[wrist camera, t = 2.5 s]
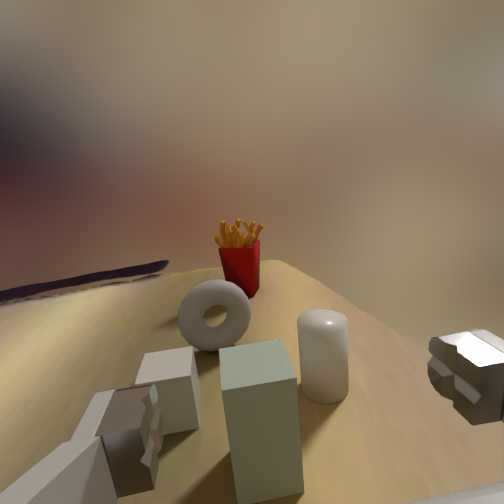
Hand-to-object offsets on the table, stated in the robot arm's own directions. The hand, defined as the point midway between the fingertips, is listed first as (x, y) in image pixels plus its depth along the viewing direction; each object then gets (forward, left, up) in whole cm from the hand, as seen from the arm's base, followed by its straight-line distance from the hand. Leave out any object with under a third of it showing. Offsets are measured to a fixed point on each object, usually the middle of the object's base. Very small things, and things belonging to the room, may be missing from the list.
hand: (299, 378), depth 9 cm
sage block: (0, +12, -18) cm, 22 cm away
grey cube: (-8, +20, -18) cm, 28 cm away
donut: (-3, +31, -18) cm, 36 cm away
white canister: (+8, +20, -18) cm, 28 cm away
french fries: (+3, +49, -18) cm, 53 cm away
